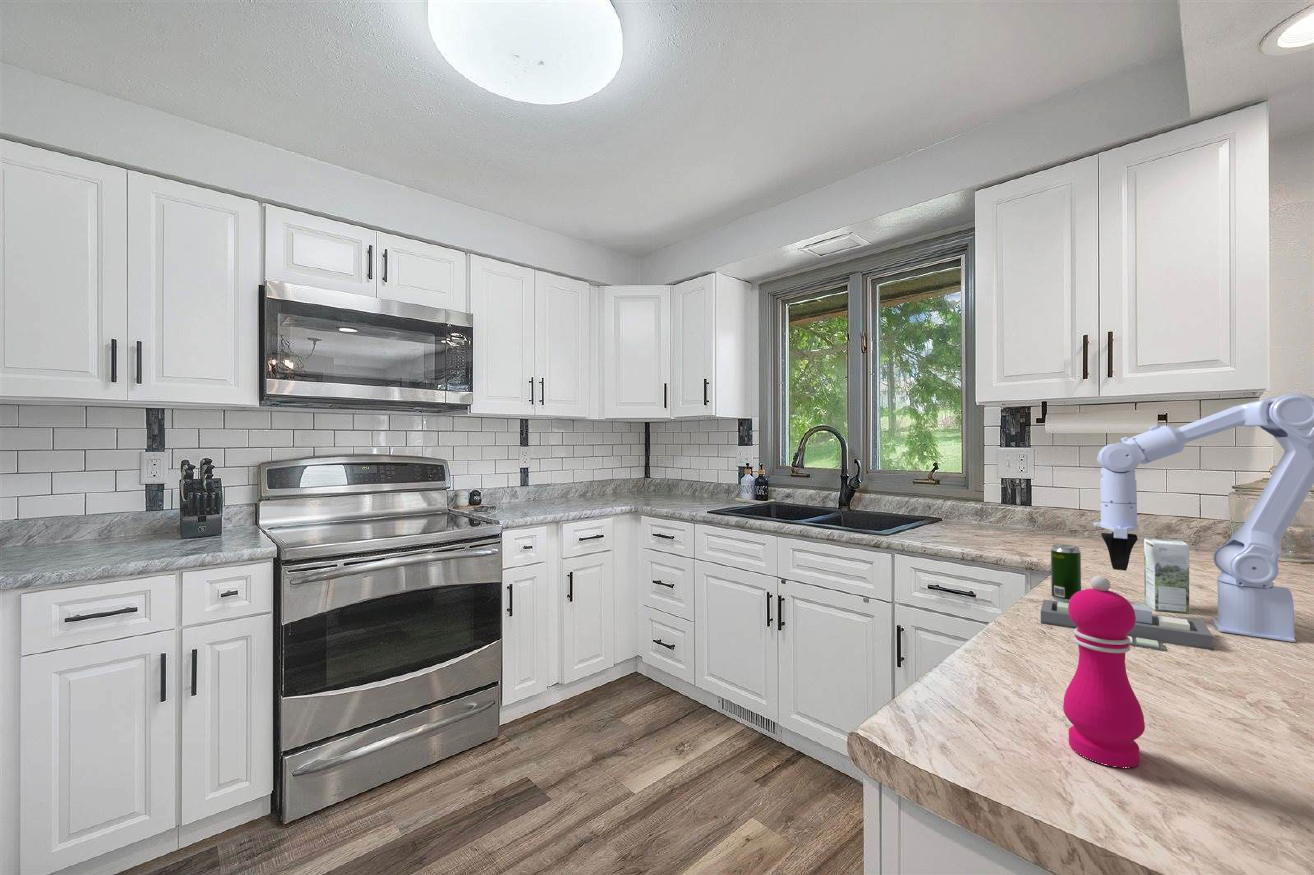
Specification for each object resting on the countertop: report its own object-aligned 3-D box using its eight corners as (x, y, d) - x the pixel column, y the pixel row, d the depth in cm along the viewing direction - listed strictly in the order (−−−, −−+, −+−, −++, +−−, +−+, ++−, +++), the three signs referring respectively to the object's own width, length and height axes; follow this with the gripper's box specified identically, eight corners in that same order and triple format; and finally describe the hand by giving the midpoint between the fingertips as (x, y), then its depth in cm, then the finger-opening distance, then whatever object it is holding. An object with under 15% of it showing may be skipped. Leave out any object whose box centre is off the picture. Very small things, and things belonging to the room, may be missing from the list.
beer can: (1075, 604, 121) (1074, 549, 121) (1047, 599, 125) (1046, 545, 125) (1085, 600, 124) (1084, 546, 124) (1057, 595, 128) (1056, 543, 128)
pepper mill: (1048, 738, 66) (1045, 569, 66) (1104, 735, 67) (1101, 568, 67) (1101, 774, 59) (1098, 584, 59) (1164, 770, 60) (1160, 583, 60)
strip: (1162, 645, 96) (1162, 640, 96) (1164, 651, 93) (1164, 647, 94) (1082, 632, 103) (1082, 628, 103) (1082, 637, 100) (1082, 633, 100)
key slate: (1150, 618, 104) (1149, 606, 104) (1152, 623, 101) (1151, 611, 101) (1122, 614, 106) (1121, 602, 106) (1123, 619, 103) (1123, 607, 103)
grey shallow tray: (1203, 634, 102) (1203, 621, 102) (1213, 650, 94) (1213, 636, 94) (1043, 610, 116) (1043, 599, 116) (1040, 623, 108) (1040, 610, 108)
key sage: (1082, 616, 110) (1082, 605, 110) (1082, 621, 107) (1082, 610, 107) (1057, 612, 112) (1057, 601, 112) (1057, 617, 109) (1056, 606, 109)
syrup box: (1178, 607, 119) (1177, 538, 119) (1190, 614, 113) (1189, 543, 114) (1144, 603, 121) (1143, 537, 121) (1154, 611, 116) (1153, 541, 116)
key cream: (1186, 631, 101) (1186, 619, 101) (1190, 637, 98) (1189, 625, 98) (1157, 627, 103) (1157, 615, 103) (1159, 633, 100) (1159, 620, 100)
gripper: (1092, 498, 121) (1094, 561, 121) (1093, 504, 110) (1094, 573, 109) (1135, 500, 117) (1136, 565, 117) (1141, 506, 105) (1142, 578, 105)
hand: (1119, 569), depth 113 cm, fingers closed
